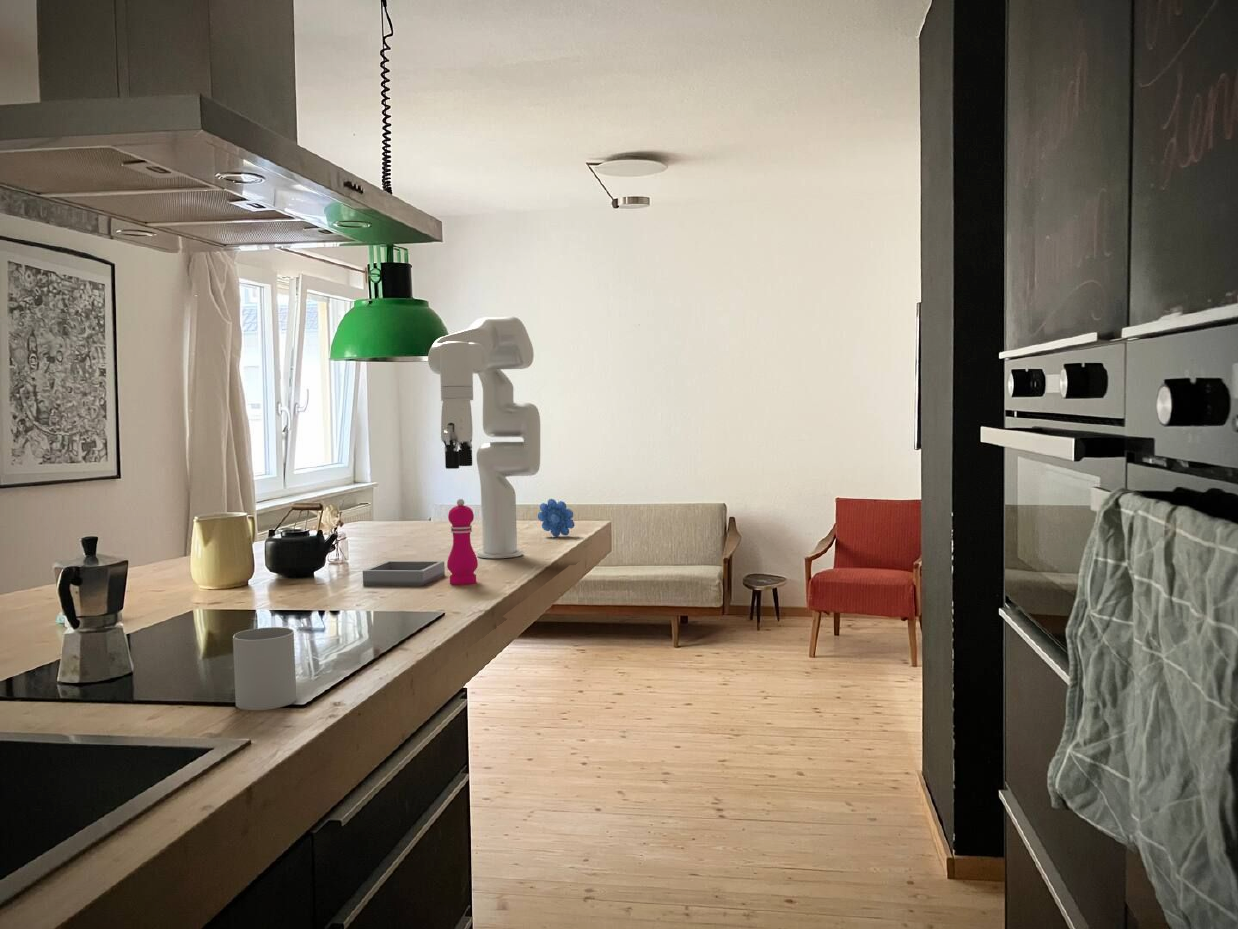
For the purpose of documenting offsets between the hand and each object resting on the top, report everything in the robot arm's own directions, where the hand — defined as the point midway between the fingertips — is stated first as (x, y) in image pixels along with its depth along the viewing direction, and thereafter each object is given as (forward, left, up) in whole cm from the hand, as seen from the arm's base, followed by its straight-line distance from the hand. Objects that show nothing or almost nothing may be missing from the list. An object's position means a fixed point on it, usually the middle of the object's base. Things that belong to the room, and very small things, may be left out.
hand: (459, 467), depth 244 cm
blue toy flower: (-81, +4, -28) cm, 86 cm away
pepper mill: (0, 0, -28) cm, 28 cm away
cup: (+97, +2, -28) cm, 101 cm away
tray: (-3, -16, -28) cm, 32 cm away
